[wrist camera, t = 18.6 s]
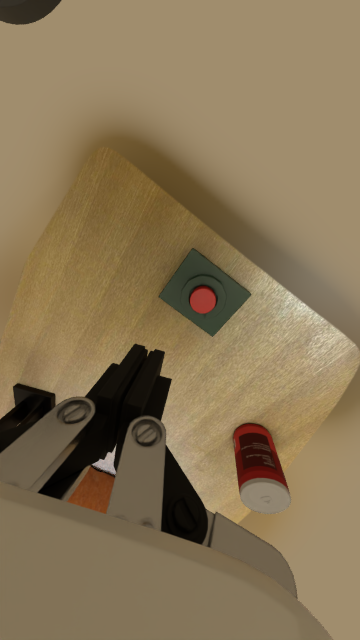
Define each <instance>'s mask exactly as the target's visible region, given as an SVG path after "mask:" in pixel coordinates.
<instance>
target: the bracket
mask: <svg viewBox="0 0 360 640" xmlns="http://www.w3.org/2000/svg"><path fill="white" fill-rule="evenodd" d="M13 391H14V399H15V407H14V408H13V409H12V410H11V411H10V412H8V413H7V414H6V415H5V416H4V417H2V418H1V419H0V432H1V431H4V430H8V429H11V428H14V427H16V426H17V425H18V424H19V423H20V424H19V425H18V426H20V425H24V424H27V423H30V422H33V421H36V420H39V419H41V418H43V417H44V416H45V415H46V414H47V413H49V412H50V411H51V410H52V409H53V408H54V407H55V394H53V393H50V392H46V391H43V390H39V389H36V388H32V387H29V386H25V385H21V384H16V385H15V386H13Z"/></svg>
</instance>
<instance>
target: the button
mask: <svg viewBox="0 0 360 640" xmlns="http://www.w3.org/2000/svg"><path fill="white" fill-rule="evenodd" d="M215 304H216V296H215V293H214V291H213V290H212V289H211V288H209V287H206V286H200V287H198V288H196V289H195V290H194V291H193V292H192V294H191V297H190V305H191V307H192V308H193V310H195V311H196V312H198V313H208V312H210V311H211V310H212V309H213V308H214V307H215Z"/></svg>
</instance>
